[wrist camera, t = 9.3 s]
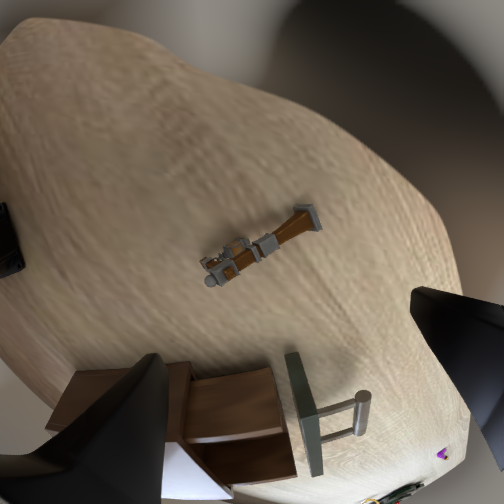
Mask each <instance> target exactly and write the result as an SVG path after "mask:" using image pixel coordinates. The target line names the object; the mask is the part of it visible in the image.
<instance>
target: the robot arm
mask: <svg viewBox="0 0 504 504" xmlns="http://www.w3.org/2000/svg"><path fill="white" fill-rule="evenodd" d="M24 268H25V264H24V261H23V258H22V256H21V253H20V250H19V247H18V244H17V241H16V238H15V235H14V232H13V229H12V225H11V222H10V218H9V215H8V211H7V207H6V204H5V203H4V202H2V203H0V279H1V278H4V277H6V276H9V275H11V274H14V273H16V272H19V271H21V270H23V269H24ZM410 313H411V316H412V317H413V319H414V321H415V323H416V324H417V326H418V328H419V330H420V331H421V333H422V335H423V337H424V339H425V340H426V342H427V344H428V346H429V347H430V349H431V350H432V352H433V353H434V355H435V356H436V357H437V359H438V360H439V362H440V363H441V365H442V366H443V368H444V370H445V371H446V373H447V374H448V376H449V377H450V379H451V380H452V382H453V384H454V385H455V387H456V388H457V390H458V392H459V393H460V395H461V397H462V398H463V400H464V402H465V403H466V405H467V407H468V408H469V410H470V412H471V414H472V415H473V417H474V419H475V421H476V423H477V424H478V426H479V428H480V429H481V432H482V434H483V436H484V438H485V440H486V442H487V444H488V446H489V448H490V450H491V452H492V454H493V456H494V458H495V460H496V462H497V465H498V467H499V469H500V470H501V472H502V471H503V470H504V306H503V305H501V306H500V305H498V304H495V303H490V302H486V301H482V300H478V299H474V298H469V297H465V296H461V295H457V294H453V293H449V292H445V291H440V290H436V289H432V288H428V287H423V286H420V287H417V288H415V289H413V290H412V292H411V301H410ZM168 413H169V372H168V369H167V368H166V366H165V364H164V362H163V360H162V358H161V357H160V355H159V354H158V353H151V354H146V355H145V356H144V357H143V358H142V359H141V360H140V361H139V362H138V363H136V364H135V365H134V366H133V367H132V368H131V369H130V370H129V371H128V372H127V373H125V374H124V375H123V376H122V377H121V378H120V379H119V380H118V381H117V382H116V383H115V384H113V385H112V386H111V387H110V388H109V389H108V390H107V391H106V392H105V393H104V394H102V395H101V396H100V397H99V398H98V399H97V400H96V401H95V402H94V403H93V404H91V405H90V406H89V407H88V408H87V409H86V410H85V411H84V412H83V413H81V414H80V415H79V416H78V417H77V418H76V419H75V420H74V421H73V422H71V423H70V424H69V425H68V426H67V427H65V428H64V429H63V430H62V431H60V432H59V433H58V434H57V435H55V436H54V437H53V438H51V439H50V440H49V441H47V442H46V443H45V444H43V445H42V446H40V447H39V448H38V449H36V450H35V451H33V452H31V453H29V454H25V455H1V454H0V504H161V494H162V478H163V464H164V452H165V442H166V432H167V423H168Z"/></svg>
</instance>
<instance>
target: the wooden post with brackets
mask: <svg viewBox="0 0 504 504" xmlns="http://www.w3.org/2000/svg"><path fill="white" fill-rule="evenodd" d="M293 208H294V210H295V214H294V215H293V216H292V217H291V218H290V219H288V220H287V221H286V222H285V223H284V224H282V225H281V226H280V227H279V228H278V229H276V230H275V231H273V232H272V233H270V234H269V233H266V234H265V235H264V236H262V237H261V238H259V239H258V240H256V241H253V242H252V244H253V245H250V241H249V240H248V239H242V240H241V239H236V240H235V241H234V242H233V243H231V244H230V245H228V246H225V245H223V250H224V253H222V254H220V253H219V258H210V257H209V258H207V257H205V258H203V259H202V260H200V263H201V265H202V266H203V268H204V269H205V270H206V271H207V272H209V273H210V274H211V275H208V276H206V278H205V284H206V285H207V286H208V287H214V286H216V284H217V285H219V286H221V287H222V286H223V285H224V284H225V283H227V282H228V281H230V280H231V279H233V278H234V277H236V276H238V275H240V273H239V271H241V270H243V269H244V268H246V267H247V266H249V265H250V264H252V263H254V262H257V263H259V262H260V261H262V259H261V258H262V257H264V258H266V257H267V256H268V255H269V254H271V253H272V252H274V251H275V250H277V249H280V245H281V244H283V243H284V242H286V241H287V240H289V239H291V238H293V237H295V236H297V235H299V234H301V233H303V232H305V231H307V230H308V231H316V232H318V231H319V230H323V229H322V226H321V223H320V221H319V218H318V215H317V213H316V210H315V208H314V205H313V204H297V205H296V207H293ZM227 258H229V259H227ZM214 259H217V261H214ZM219 260H222V261H219Z"/></svg>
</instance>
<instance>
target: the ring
mask: <svg viewBox="0 0 504 504" xmlns="http://www.w3.org/2000/svg"><path fill="white" fill-rule="evenodd" d="M368 501H374V502H376V504H380V503H379V502H378V501H377V500H375V499H365V500H364V501H362V502H361V503H360V504H363V503H366V502H368Z"/></svg>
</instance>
